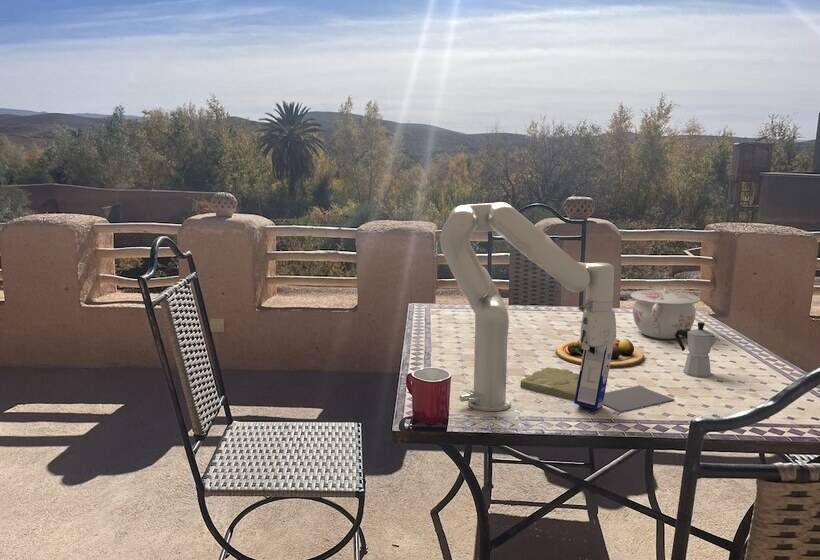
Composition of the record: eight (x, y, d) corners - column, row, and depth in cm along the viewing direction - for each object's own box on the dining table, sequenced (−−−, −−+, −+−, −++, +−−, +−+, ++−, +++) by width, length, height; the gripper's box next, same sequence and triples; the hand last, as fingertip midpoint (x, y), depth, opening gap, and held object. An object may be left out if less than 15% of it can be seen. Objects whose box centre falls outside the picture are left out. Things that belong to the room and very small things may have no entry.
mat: (620, 412, 194) (620, 411, 194) (587, 397, 206) (587, 396, 206) (674, 400, 204) (674, 399, 204) (639, 386, 216) (639, 385, 216)
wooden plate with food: (574, 340, 273) (575, 320, 272) (654, 352, 255) (655, 331, 253) (541, 360, 248) (541, 339, 246) (627, 375, 229) (628, 352, 228)
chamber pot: (667, 325, 297) (670, 279, 294) (712, 341, 272) (717, 291, 268) (613, 330, 289) (616, 283, 285) (655, 346, 263) (658, 295, 259)
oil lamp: (578, 322, 302) (578, 305, 301) (578, 320, 306) (578, 303, 305) (598, 323, 300) (599, 306, 299) (598, 321, 304) (599, 304, 302)
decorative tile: (577, 402, 203) (577, 391, 203) (519, 388, 216) (519, 378, 215) (602, 387, 217) (603, 376, 217) (547, 374, 230) (547, 364, 229)
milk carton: (596, 409, 192) (609, 341, 192) (573, 403, 196) (585, 336, 195) (602, 406, 199) (614, 340, 198) (580, 401, 202) (591, 335, 201)
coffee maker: (720, 374, 229) (725, 323, 226) (710, 380, 222) (715, 328, 219) (677, 365, 239) (681, 316, 236) (667, 370, 233) (670, 320, 230)
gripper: (587, 311, 186) (585, 374, 189) (627, 305, 193) (624, 366, 196) (569, 306, 193) (567, 367, 196) (609, 300, 199) (606, 360, 203)
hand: (596, 367), depth 196 cm, fingers closed
